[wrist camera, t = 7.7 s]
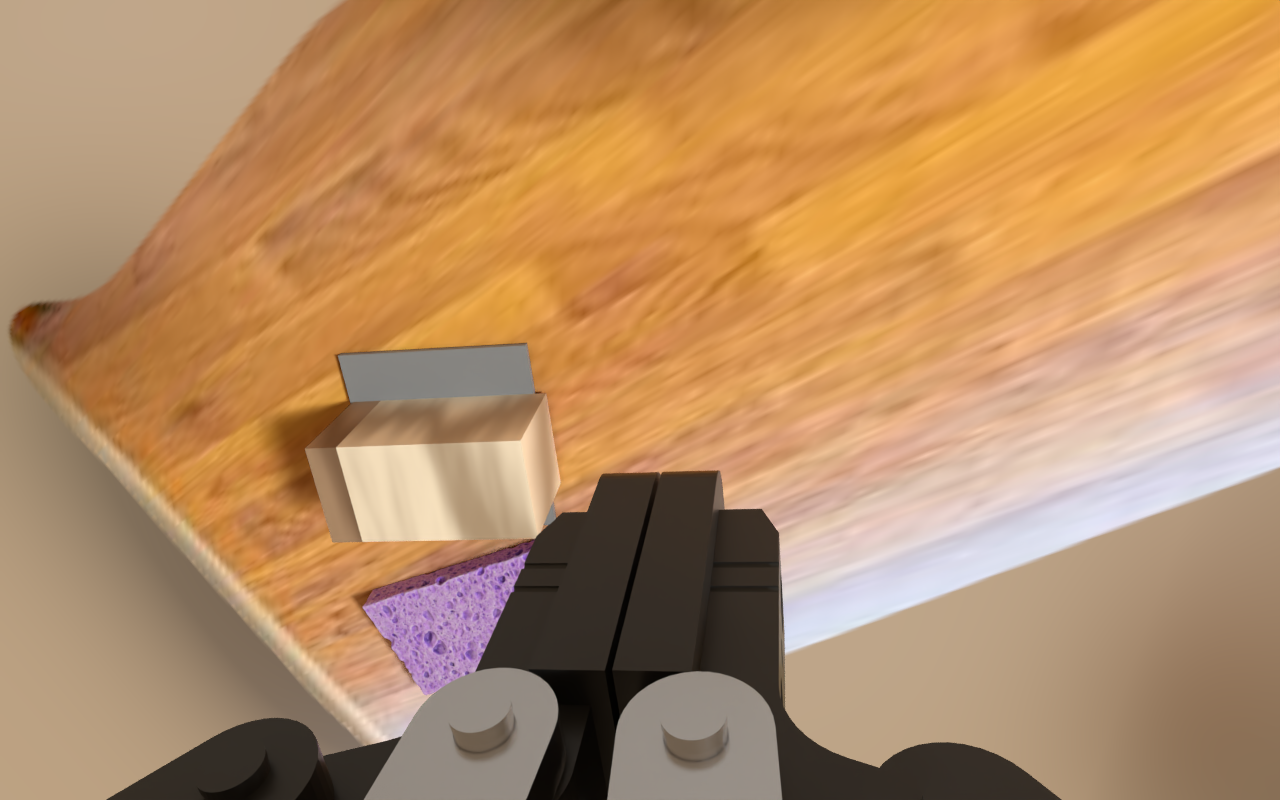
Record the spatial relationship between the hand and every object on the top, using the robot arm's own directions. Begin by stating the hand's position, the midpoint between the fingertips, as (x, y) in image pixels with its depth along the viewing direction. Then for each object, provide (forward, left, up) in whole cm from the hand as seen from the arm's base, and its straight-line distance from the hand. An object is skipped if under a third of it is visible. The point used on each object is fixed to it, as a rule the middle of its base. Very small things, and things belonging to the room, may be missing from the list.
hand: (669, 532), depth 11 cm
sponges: (+14, +23, -28) cm, 39 cm away
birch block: (+9, +12, -24) cm, 29 cm away
